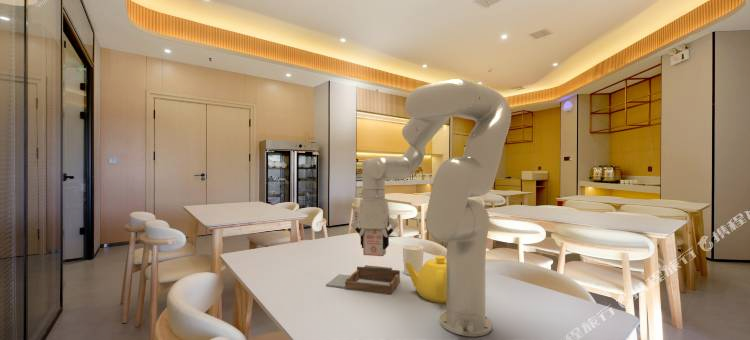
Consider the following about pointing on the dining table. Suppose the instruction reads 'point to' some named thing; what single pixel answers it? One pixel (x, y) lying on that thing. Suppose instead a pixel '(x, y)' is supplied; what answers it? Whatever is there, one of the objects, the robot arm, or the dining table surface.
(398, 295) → the dining table surface
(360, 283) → the brown wooden tray
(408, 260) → the white cup
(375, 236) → the tea bag
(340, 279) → the rubber pad
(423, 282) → the teapot
